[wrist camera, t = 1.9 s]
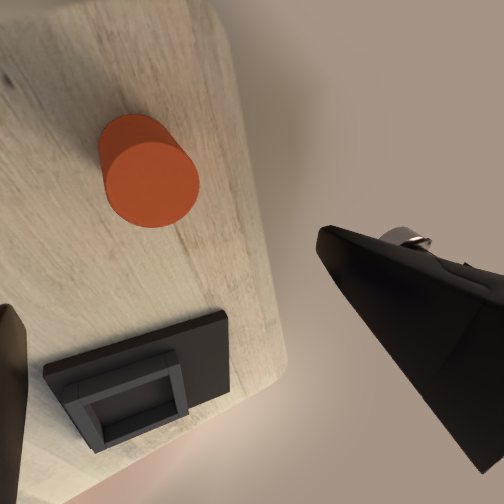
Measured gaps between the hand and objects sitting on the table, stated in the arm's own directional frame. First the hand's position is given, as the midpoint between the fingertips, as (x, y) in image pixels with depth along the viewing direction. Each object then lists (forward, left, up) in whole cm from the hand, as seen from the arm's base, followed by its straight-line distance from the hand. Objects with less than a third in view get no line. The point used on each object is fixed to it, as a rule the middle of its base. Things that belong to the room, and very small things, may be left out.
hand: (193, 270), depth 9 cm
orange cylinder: (0, 0, -11) cm, 11 cm away
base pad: (+2, +20, -11) cm, 23 cm away
